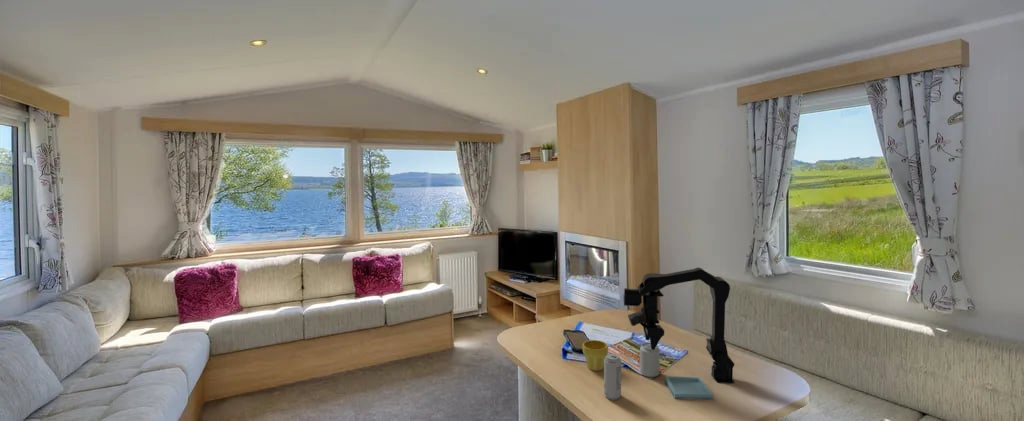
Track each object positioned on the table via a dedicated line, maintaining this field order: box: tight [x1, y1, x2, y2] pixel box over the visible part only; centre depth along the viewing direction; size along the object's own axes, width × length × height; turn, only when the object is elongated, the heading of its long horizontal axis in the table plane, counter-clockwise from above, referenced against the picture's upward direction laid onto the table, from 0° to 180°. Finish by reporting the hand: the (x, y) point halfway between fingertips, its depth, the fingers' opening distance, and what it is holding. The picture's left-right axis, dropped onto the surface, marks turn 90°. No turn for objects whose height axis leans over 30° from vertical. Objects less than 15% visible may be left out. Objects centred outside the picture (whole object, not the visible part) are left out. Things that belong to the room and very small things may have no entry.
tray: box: [664, 375, 714, 400], centre depth 158 cm, size 13×13×2 cm
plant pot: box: [582, 339, 609, 372], centre depth 177 cm, size 10×10×10 cm
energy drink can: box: [603, 353, 622, 401], centre depth 154 cm, size 6×6×15 cm
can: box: [639, 342, 661, 378], centre depth 171 cm, size 8×8×12 cm
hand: (650, 344), depth 170 cm, fingers open, 9 cm apart
